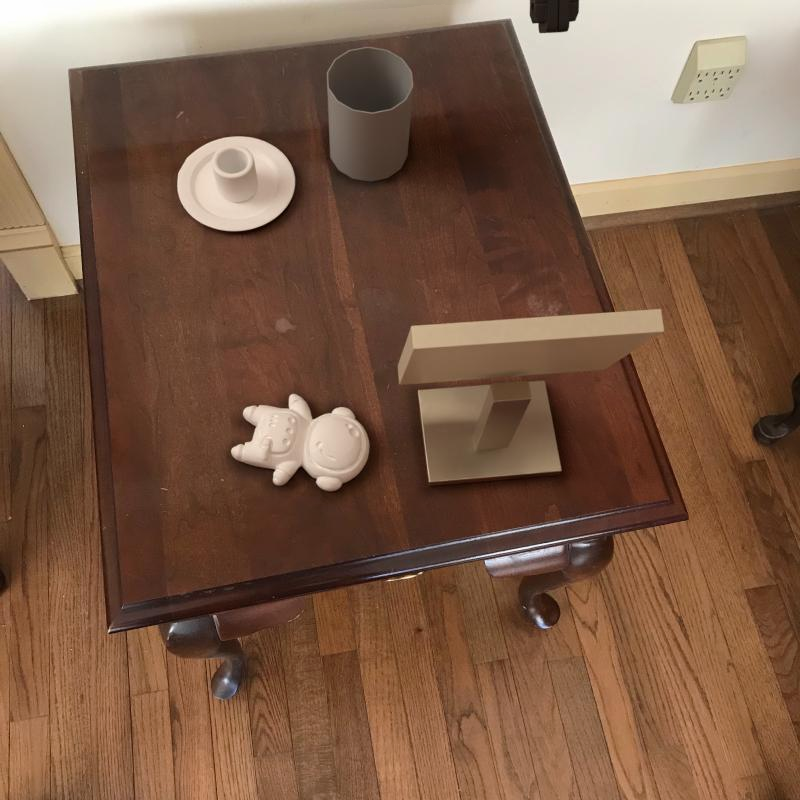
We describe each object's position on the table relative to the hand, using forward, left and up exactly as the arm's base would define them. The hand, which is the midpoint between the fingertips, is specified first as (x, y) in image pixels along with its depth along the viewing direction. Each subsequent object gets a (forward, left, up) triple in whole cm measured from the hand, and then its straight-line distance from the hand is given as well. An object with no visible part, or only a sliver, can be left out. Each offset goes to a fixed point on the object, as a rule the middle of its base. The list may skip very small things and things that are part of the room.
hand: (553, 31), depth 54 cm
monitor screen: (+2, +13, -22) cm, 25 cm away
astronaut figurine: (+19, +15, -32) cm, 40 cm away
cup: (+10, -18, -32) cm, 38 cm away
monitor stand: (+2, +15, -32) cm, 35 cm away
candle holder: (+24, -14, -32) cm, 43 cm away
